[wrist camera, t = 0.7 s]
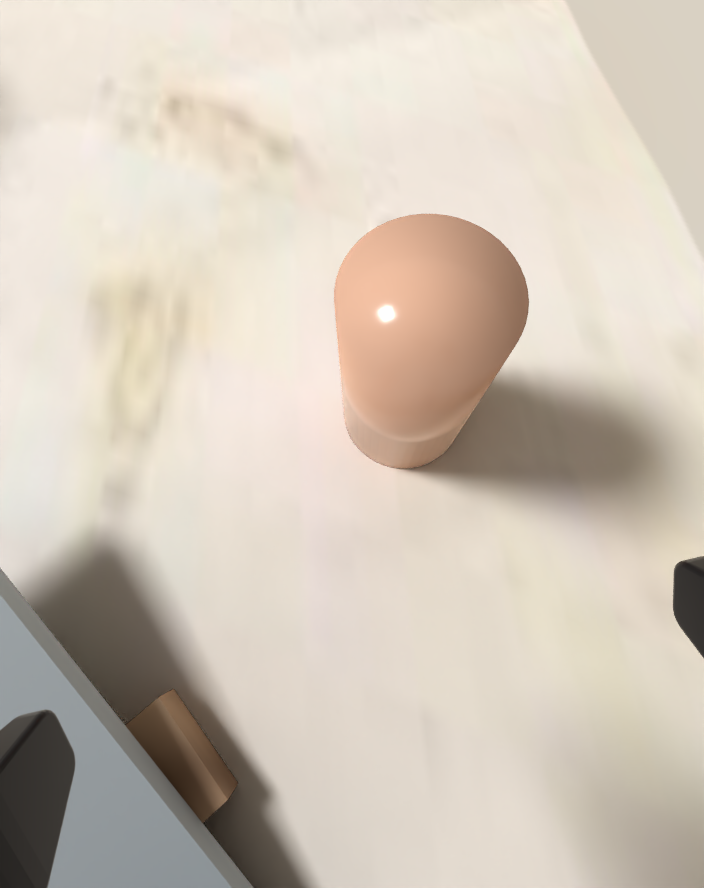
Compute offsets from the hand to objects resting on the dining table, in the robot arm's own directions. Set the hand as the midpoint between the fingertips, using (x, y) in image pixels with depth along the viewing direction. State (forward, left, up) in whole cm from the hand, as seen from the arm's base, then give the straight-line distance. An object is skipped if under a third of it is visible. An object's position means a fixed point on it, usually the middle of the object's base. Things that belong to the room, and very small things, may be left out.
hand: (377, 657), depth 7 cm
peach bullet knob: (+6, -6, -13) cm, 15 cm away
